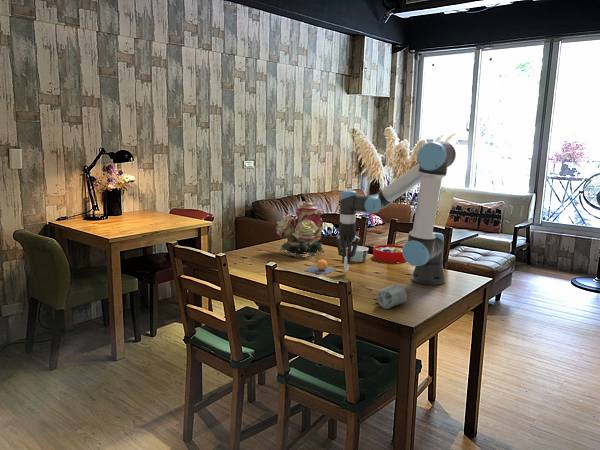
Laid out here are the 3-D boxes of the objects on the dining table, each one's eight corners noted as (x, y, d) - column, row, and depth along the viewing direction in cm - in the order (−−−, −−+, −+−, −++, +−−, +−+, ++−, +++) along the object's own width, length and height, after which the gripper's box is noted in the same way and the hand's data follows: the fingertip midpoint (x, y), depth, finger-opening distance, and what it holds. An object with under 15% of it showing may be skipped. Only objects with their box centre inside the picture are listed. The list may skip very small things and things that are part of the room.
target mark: (336, 269, 258) (336, 268, 258) (326, 274, 247) (326, 274, 247) (314, 266, 263) (314, 265, 263) (304, 271, 253) (304, 270, 253)
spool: (390, 305, 193) (387, 280, 196) (372, 310, 200) (369, 285, 203) (414, 307, 201) (410, 283, 204) (396, 312, 208) (393, 288, 211)
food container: (341, 259, 279) (341, 247, 278) (357, 256, 286) (357, 244, 285) (356, 263, 269) (357, 251, 268) (372, 260, 277) (373, 248, 275)
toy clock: (408, 245, 290) (412, 253, 270) (407, 255, 291) (411, 263, 271) (372, 244, 292) (374, 251, 272) (372, 254, 293) (373, 262, 273)
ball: (325, 271, 257) (331, 262, 255) (321, 273, 252) (326, 265, 250) (317, 264, 259) (322, 256, 256) (312, 267, 254) (317, 258, 252)
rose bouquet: (271, 250, 298) (271, 199, 293) (316, 246, 309) (317, 197, 304) (287, 260, 275) (287, 205, 269) (335, 256, 286) (336, 203, 281)
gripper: (363, 222, 245) (361, 270, 249) (338, 220, 251) (337, 266, 255) (357, 224, 238) (355, 273, 242) (332, 222, 244) (330, 270, 248)
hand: (346, 270), depth 248 cm, fingers closed
